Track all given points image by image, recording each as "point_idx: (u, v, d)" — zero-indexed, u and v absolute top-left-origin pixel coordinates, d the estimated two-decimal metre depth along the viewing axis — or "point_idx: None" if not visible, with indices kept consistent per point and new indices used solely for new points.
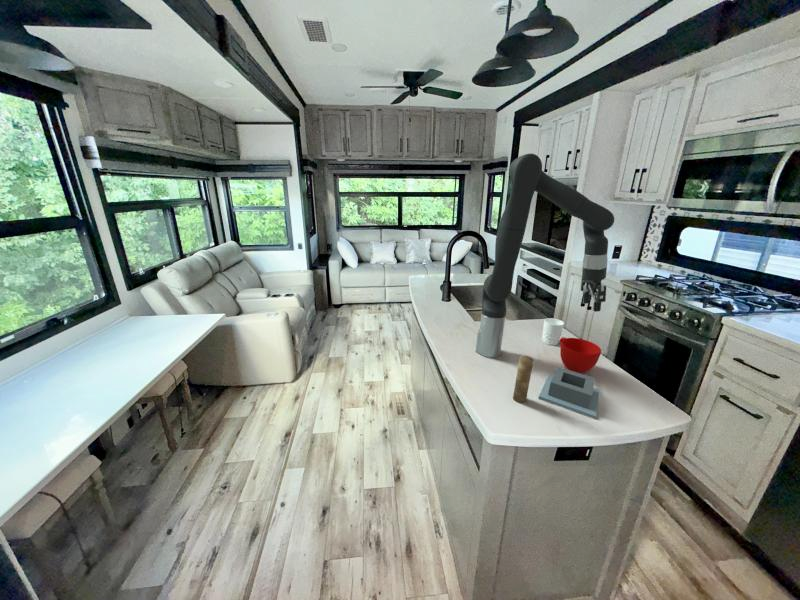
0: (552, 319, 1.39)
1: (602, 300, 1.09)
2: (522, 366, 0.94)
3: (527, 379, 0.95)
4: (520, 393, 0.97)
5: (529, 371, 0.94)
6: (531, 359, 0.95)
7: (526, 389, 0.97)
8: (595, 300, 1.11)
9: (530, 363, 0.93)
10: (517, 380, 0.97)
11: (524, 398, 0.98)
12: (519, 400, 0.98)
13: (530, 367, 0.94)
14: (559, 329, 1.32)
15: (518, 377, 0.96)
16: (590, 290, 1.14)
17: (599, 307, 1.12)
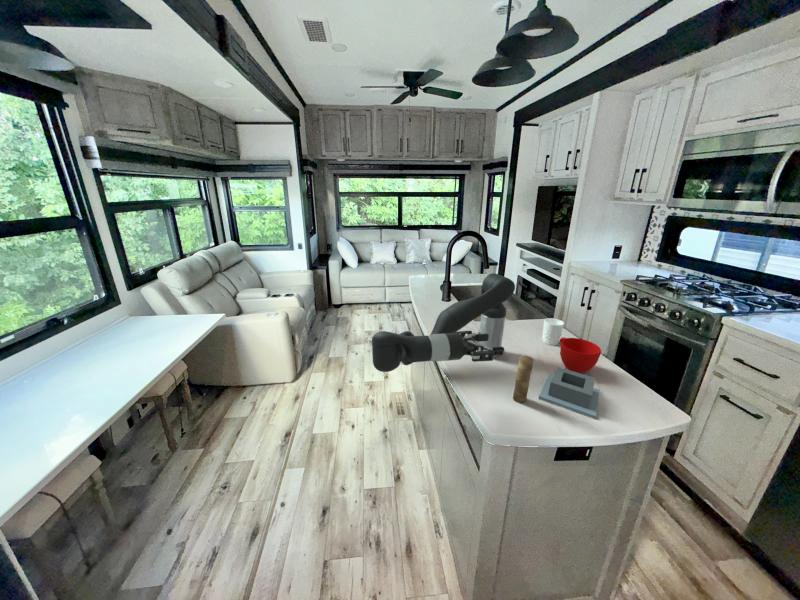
0: (552, 319, 1.39)
1: (491, 355, 0.82)
2: (522, 366, 0.94)
3: (527, 379, 0.95)
4: (520, 393, 0.97)
5: (529, 371, 0.94)
6: (531, 359, 0.95)
7: (526, 389, 0.97)
8: None
9: (530, 363, 0.93)
10: (517, 380, 0.97)
11: (524, 398, 0.98)
12: (519, 400, 0.98)
13: (530, 367, 0.94)
14: (559, 329, 1.32)
15: (518, 377, 0.96)
16: None
17: (499, 351, 0.84)
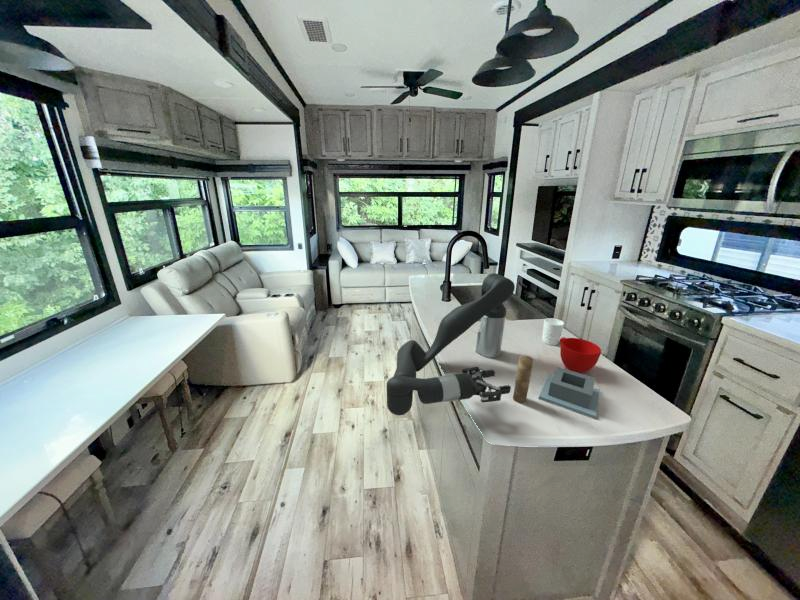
0: (552, 319, 1.39)
1: (499, 396, 0.87)
2: (522, 366, 0.94)
3: (527, 379, 0.95)
4: (520, 393, 0.97)
5: (529, 371, 0.94)
6: (531, 359, 0.95)
7: (526, 389, 0.97)
8: None
9: (530, 363, 0.93)
10: (517, 380, 0.97)
11: (524, 398, 0.98)
12: (519, 400, 0.98)
13: (530, 367, 0.94)
14: (559, 329, 1.32)
15: (518, 377, 0.96)
16: None
17: (506, 390, 0.89)
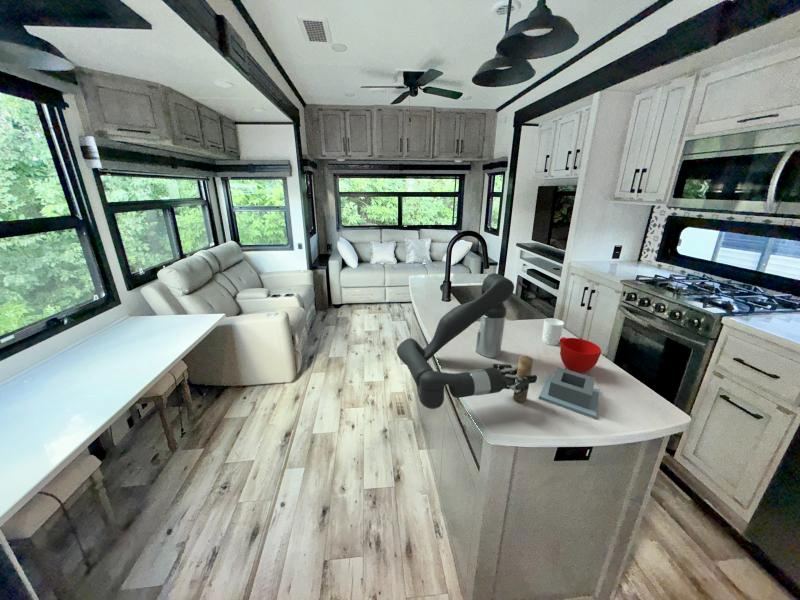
0: (552, 319, 1.39)
1: (527, 385, 0.92)
2: (522, 367, 0.94)
3: None
4: (520, 393, 0.97)
5: (529, 371, 0.94)
6: (531, 359, 0.94)
7: None
8: None
9: (530, 363, 0.93)
10: None
11: (524, 398, 0.98)
12: (519, 400, 0.98)
13: (530, 367, 0.94)
14: (559, 329, 1.32)
15: None
16: None
17: (533, 380, 0.94)
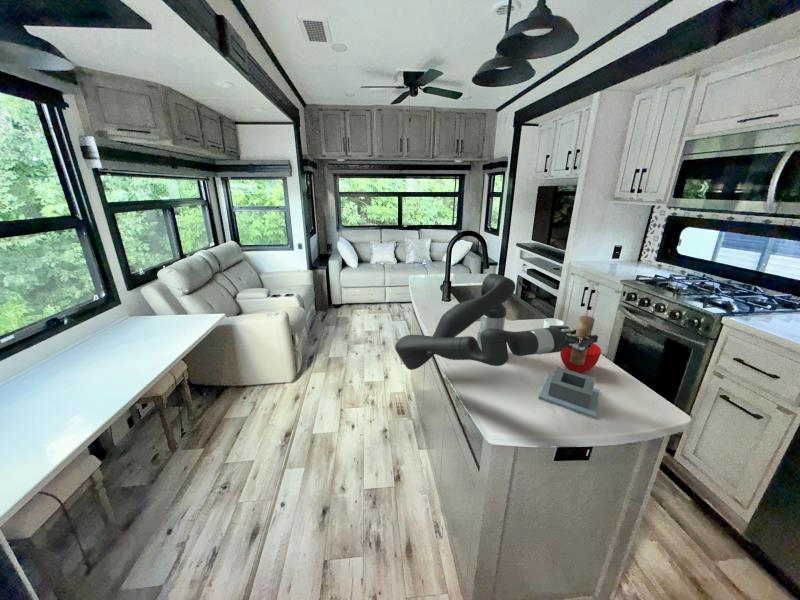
0: (552, 319, 1.39)
1: (590, 343, 0.90)
2: (583, 326, 0.92)
3: None
4: (580, 354, 0.95)
5: (590, 330, 0.92)
6: (592, 318, 0.92)
7: (586, 350, 0.94)
8: None
9: (592, 322, 0.91)
10: None
11: (583, 359, 0.95)
12: (578, 362, 0.96)
13: (591, 326, 0.92)
14: None
15: None
16: None
17: (595, 339, 0.92)
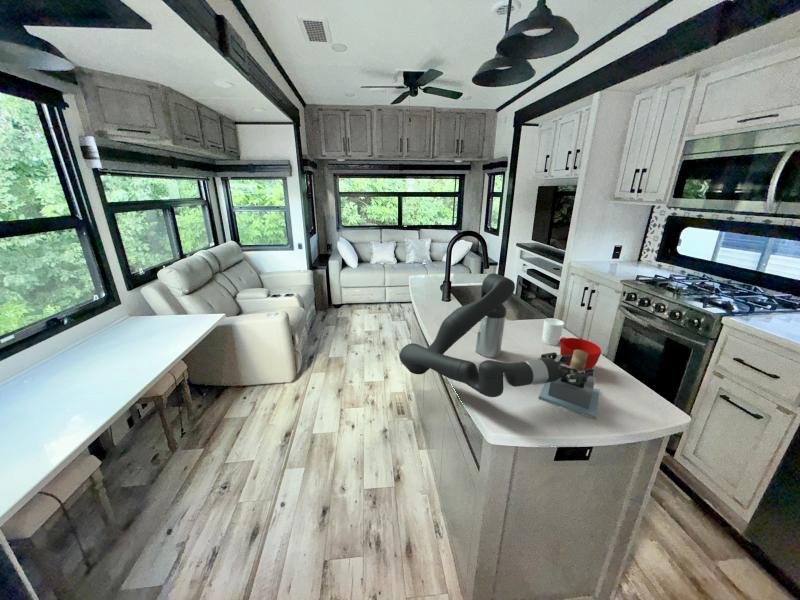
0: (552, 319, 1.39)
1: (586, 378, 0.91)
2: (577, 360, 0.96)
3: None
4: None
5: (583, 365, 0.96)
6: (585, 353, 0.97)
7: None
8: None
9: (585, 357, 0.95)
10: (570, 374, 0.99)
11: None
12: None
13: (585, 361, 0.96)
14: (559, 329, 1.32)
15: (571, 371, 0.98)
16: None
17: (590, 373, 0.93)
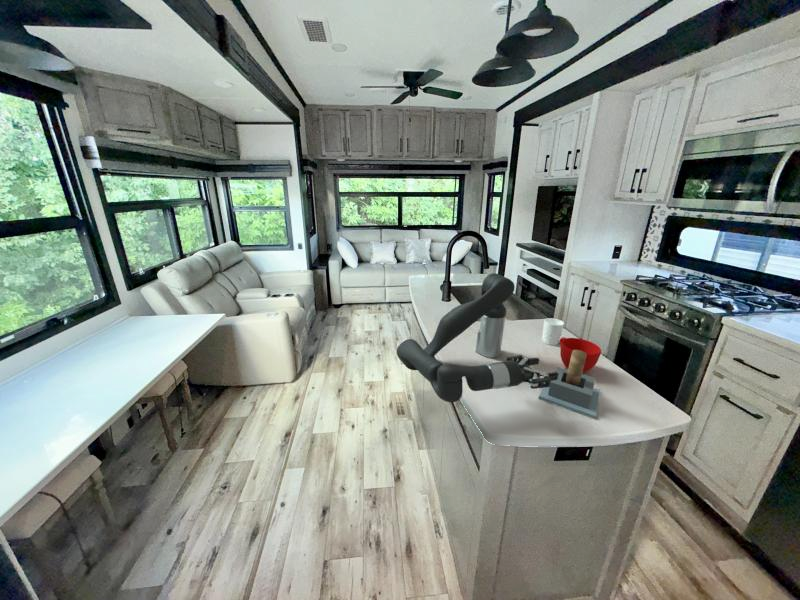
0: (552, 319, 1.39)
1: (549, 382, 0.88)
2: (576, 360, 0.96)
3: (580, 373, 0.97)
4: None
5: (582, 365, 0.96)
6: (584, 353, 0.96)
7: (578, 383, 0.98)
8: None
9: (584, 357, 0.95)
10: (569, 374, 0.99)
11: None
12: None
13: (583, 361, 0.96)
14: (559, 329, 1.32)
15: (570, 371, 0.98)
16: None
17: (554, 377, 0.90)
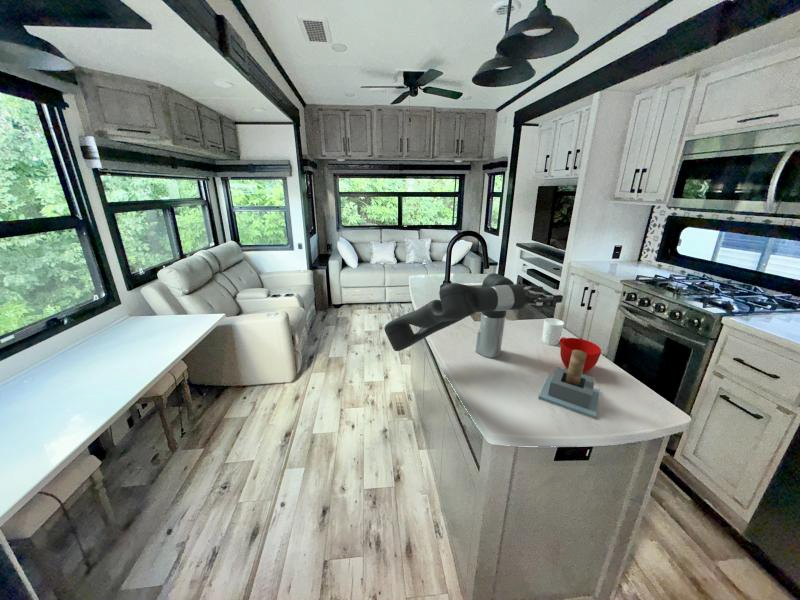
0: (552, 319, 1.39)
1: (553, 302, 0.87)
2: (576, 360, 0.96)
3: (580, 373, 0.97)
4: None
5: (582, 365, 0.96)
6: (584, 353, 0.96)
7: (578, 383, 0.98)
8: None
9: (584, 357, 0.95)
10: (569, 374, 0.99)
11: None
12: None
13: (583, 361, 0.96)
14: (559, 329, 1.32)
15: (570, 371, 0.98)
16: None
17: (559, 299, 0.89)
